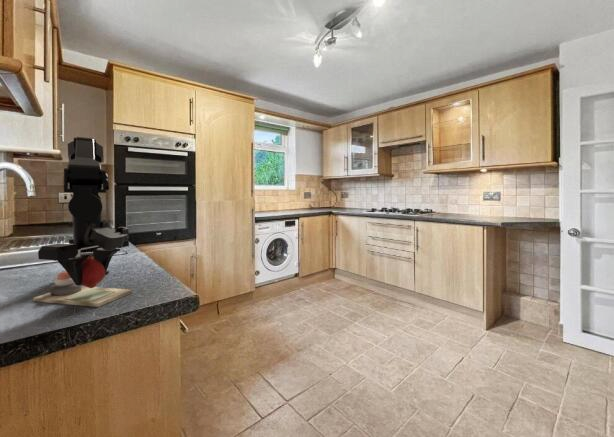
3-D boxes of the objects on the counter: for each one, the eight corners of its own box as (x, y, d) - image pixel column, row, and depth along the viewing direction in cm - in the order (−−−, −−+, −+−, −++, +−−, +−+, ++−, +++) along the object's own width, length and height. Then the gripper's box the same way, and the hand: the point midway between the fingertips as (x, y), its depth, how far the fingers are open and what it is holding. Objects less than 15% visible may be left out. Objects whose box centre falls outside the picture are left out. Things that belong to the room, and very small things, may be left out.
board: (33, 301, 70) (32, 289, 69) (74, 288, 79) (73, 278, 79) (97, 306, 66) (97, 294, 66) (132, 292, 76) (131, 282, 76)
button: (50, 286, 72) (49, 272, 72) (67, 281, 76) (66, 268, 76) (64, 287, 71) (63, 273, 71) (80, 282, 75) (80, 269, 75)
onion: (90, 292, 68) (88, 258, 67) (69, 291, 69) (67, 257, 68) (111, 285, 73) (110, 253, 73) (92, 283, 74) (90, 252, 74)
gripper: (78, 221, 59) (82, 297, 60) (145, 215, 77) (147, 273, 79) (33, 220, 61) (38, 293, 62) (109, 214, 79) (112, 271, 81)
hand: (90, 281), depth 71 cm, fingers closed on onion, 6 cm apart
